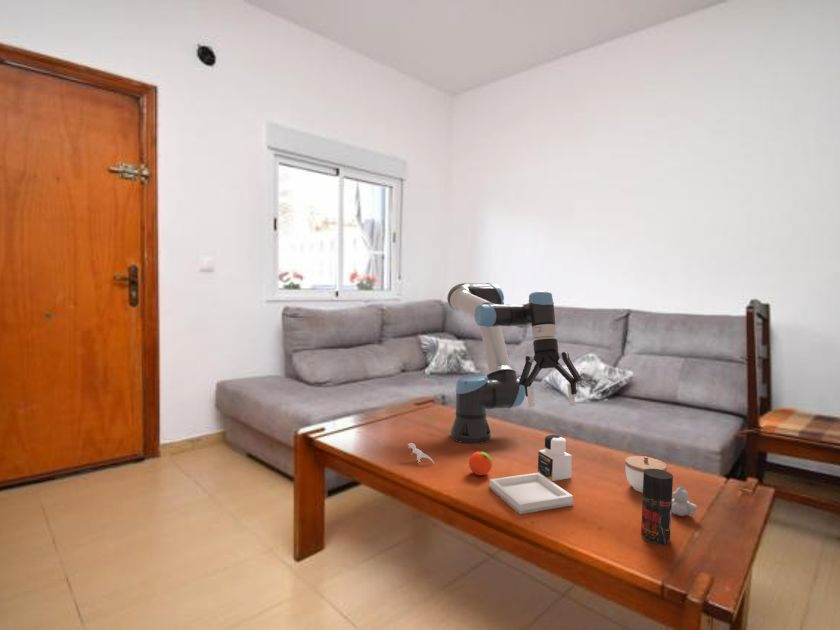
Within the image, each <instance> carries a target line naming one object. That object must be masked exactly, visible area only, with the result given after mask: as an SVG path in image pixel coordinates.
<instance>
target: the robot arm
mask: <svg viewBox="0 0 840 630" xmlns="http://www.w3.org/2000/svg"><path fill="white" fill-rule="evenodd" d="M504 300H505V296H504V292H503V290H502V288H501V287H500V286H499V285H498V284H496V283H489V282H487V283H469V282H468V283H467V282H464V283H463V282H461V283H459V284H457V285H454V286H453V287H452V288H451V289H450V290H449V292H448V293H447V298H446V301H447V303H448V305H449V307H450V308H451V309H453V310H454V311H456V312H458V313H459V312H460V313H461V312H463V313H465V314H466V315H469V316H470V317H473V318H474V321H475V322H476V323H475V324H477V326H479V329H480V335H481V338H482V345H483V348H484V353H485V357H486V358H485V359H486V364H487V368H488V372H487V374H478V373H477V374H476V373H475V374H473V373H472V374H466V375H463V376H461V377H459V378H458V379H457V381H456V387H455V417H454V421H453V423H452V426H451V429H450V438H451V437H452V438H453V439H455V440H454V441H456V440H457V441H456V442H458V441H461V442H460V443H463V442H466V443H465V444H482V443H481V442H484V443H487V442H489V441H490V440H491V439H492V437H491V436H492V434H491V433H492V432H491V429H490V424H489V422H488V419H487V418H488V417H487V410H498V409H511V408H512V409H513V408H518V407H520V406H522V404H523V403H524V401H525V397H527V401H528V408H535V407H536V405H535V404H536V403H535V393H534V386H532V384H533V383H534V381H535V379H536V378H537V376H538V374H539V373H540V372H541V371H542V369H553V368H554V369H556V370H557V371H558V373H560V375H561V376H562V377H564V378H565V380H567V382H568V384H567V385H566V386H567V395H568V404H569V407H575V406H576V399H575V396H576V395H577V394H578V390H577V384H578V383H579V382H582V381H583V378H582V377H581V375H580V373H579V372H578V370H577V368H576V367H575V364H574V363H573V362H572V360H571V359H570V354H569V352H567V351H562V352H560V353H559V345H558V339H557V337H558V335H557V327H556V317H555V316H556V315H555V306H554V304H555V302H554V300H553V294H552V292H550V291H548V290H539V291H534V292H531V293H530V294H529V295H528V302H527V303H525V304H523V303H522V304H516V303H515V304H514V303H513V304H510V303H509V304H507V303H506V304H505V301H504ZM502 327H517V328H519V329H524V328H529V327H531V333H532V339H533V341H532V343H533V344H532V345H533V352H534V356H532V355H526V356H525V364H524V367H523V369H522V372H521V375H520V376H517V373H516V370H515V369H514V368H512V367H511V363H510V359H509V355H508V349H507V346H506V343H505V342H506V341H505V337H504V332H503V329H502ZM560 359H561V360H562V361H563V363H564V365H565V366H566V367H567V369H568V371H567V370H566V369H565V368H564V366H562V364H561V363H560V362H559V360H560ZM534 362H535V364H534V366H533V369H532V365H533V363H534ZM531 370H532V371H531ZM530 371H531V372H530ZM569 372H570V373H569ZM452 438H451V439H452ZM490 438H491V439H490ZM453 439H452V440H453ZM488 440H489V441H488ZM486 441H487V442H486Z"/></svg>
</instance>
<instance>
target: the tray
mask: <svg viewBox="0 0 840 630" xmlns="http://www.w3.org/2000/svg"><path fill="white" fill-rule="evenodd" d="M489 489H490V490H492V492H494V494H496V495H497V496H498V497H499V496H500V497H499V498H500V499H501V500H503V501H504V502H505V503H506V504H507V505H508V506H510V507H511V509H513V510H514V511H515V512H516V513H517V514H519V515H524V514H530V513H535V512H541V511H546V510H553V509H558V508H566V507H570V506H571V507H572V506H574V495H572V494H571V493H569V491H567V490H565V489H564V488H562V487H561V486H559V485H558V484H556V482H554V481H551V480H549V479H548V478H546V477H544V476H543V475H541V474H540V473H538V472H533V473H525V474H519V475H513V476H512V475H511V476H505V477H504V476H503V477H496V478H489Z"/></svg>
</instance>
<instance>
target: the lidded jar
mask: <svg viewBox="0 0 840 630" xmlns="http://www.w3.org/2000/svg"><path fill="white" fill-rule="evenodd" d="M624 464H625V465H624V466H625V467H624V468H625V477H626V479H627V482H628V483H629V484H630V485H631V487H632V488H633V490H635V491H637V492H638V493H642V494H643V474H644V470H645V469H660V470H664V471H667V472H668V465H667V464H666V463H665V462H663V461H662V460H660V459H656V458H654V457H649V456H641V455H631V456H627V457H626V458H625V459H624Z"/></svg>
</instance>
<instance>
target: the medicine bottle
mask: <svg viewBox="0 0 840 630" xmlns="http://www.w3.org/2000/svg"><path fill="white" fill-rule="evenodd" d="M566 442H567V440H566V438H565V437H564V436H561V435H557V434H550V435H549V434H548V435H546V436H545V437H544V449H538V456H537V457H538V458H537V459H538V460H537V473H540V474H541V475H543V476H544V477H546V478H547V479H549V480H550V481H552V482H556V481H560V480H561V481H563V480H568V479H572V464H573V463H572V460H573V459H572V457H573V455H572V454H570V453H568V452H566V450H567V449H566V446H567V445H566V444H567V443H566Z"/></svg>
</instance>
